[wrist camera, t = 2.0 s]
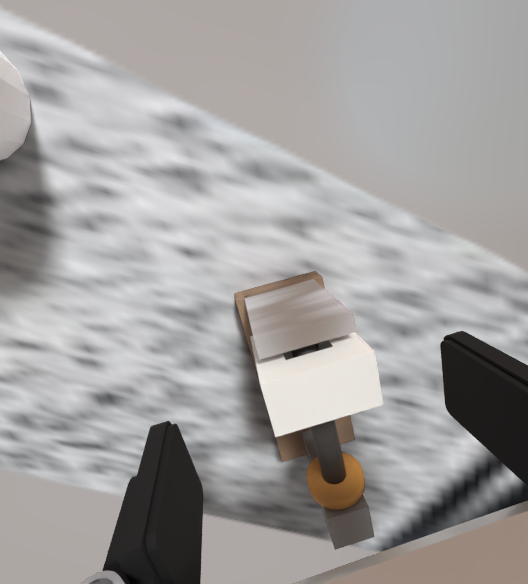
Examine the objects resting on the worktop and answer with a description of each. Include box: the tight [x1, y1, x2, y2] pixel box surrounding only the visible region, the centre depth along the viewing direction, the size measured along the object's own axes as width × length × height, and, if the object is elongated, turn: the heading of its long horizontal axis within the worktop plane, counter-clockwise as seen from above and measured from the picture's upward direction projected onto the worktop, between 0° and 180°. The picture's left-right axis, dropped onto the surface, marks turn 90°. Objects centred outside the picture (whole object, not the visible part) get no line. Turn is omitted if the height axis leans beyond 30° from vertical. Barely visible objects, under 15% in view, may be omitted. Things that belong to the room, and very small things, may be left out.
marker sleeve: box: [250, 332, 383, 437], centre depth 14 cm, size 4×2×4 cm, turn 104°
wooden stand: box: [235, 271, 374, 549], centre depth 17 cm, size 5×12×8 cm, turn 14°
